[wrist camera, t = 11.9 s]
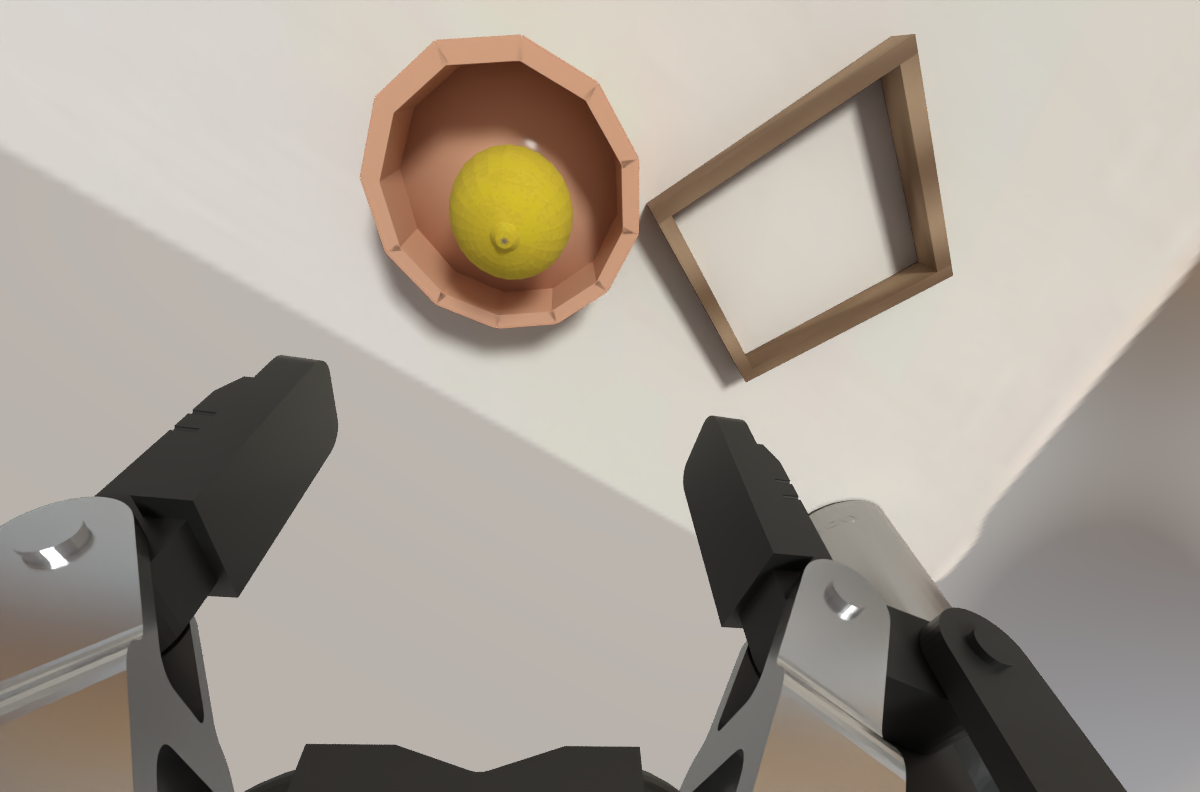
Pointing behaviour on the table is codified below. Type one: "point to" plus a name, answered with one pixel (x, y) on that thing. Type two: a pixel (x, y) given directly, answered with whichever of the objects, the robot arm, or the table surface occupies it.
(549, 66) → the bowl
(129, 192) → the table surface
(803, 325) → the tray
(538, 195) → the lemon
